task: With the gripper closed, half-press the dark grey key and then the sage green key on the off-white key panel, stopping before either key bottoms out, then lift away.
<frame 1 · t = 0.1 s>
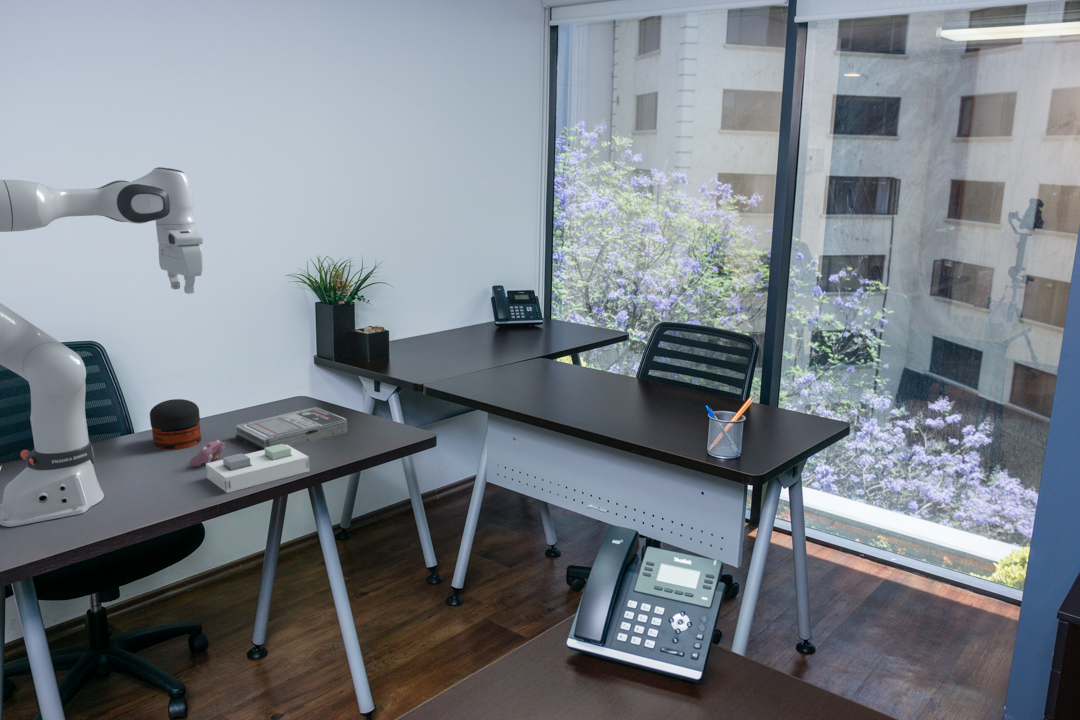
hand: (182, 291, 202), 48 cm above the table, tool pointing down, fingers open, 8 cm apart
grey key: (236, 463, 206), point 4 cm above the table, slide at 0.0 cm
oil filter: (177, 443, 235), on the table
video game controller: (209, 462, 220), on the table
sage key: (277, 453, 213), point 5 cm above the table, slide at 0.0 cm
hard drive: (293, 437, 242), on the table
key panel: (259, 474, 210), on the table
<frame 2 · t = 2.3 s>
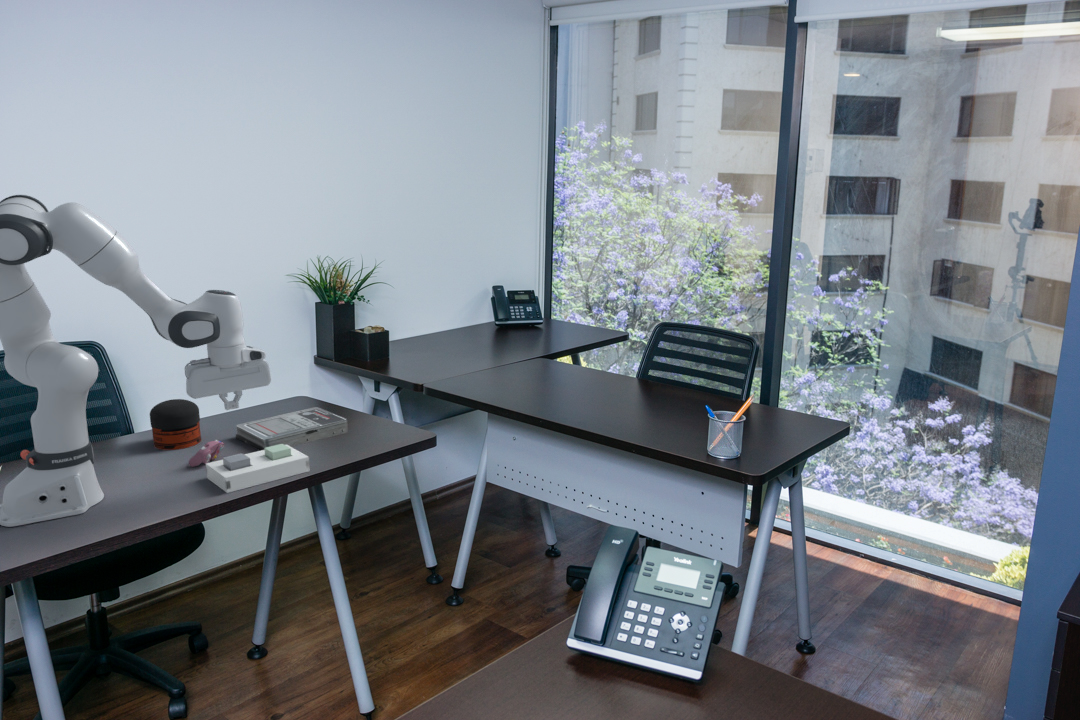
hand: (231, 408, 202), 19 cm above the table, tool pointing down, fingers closed
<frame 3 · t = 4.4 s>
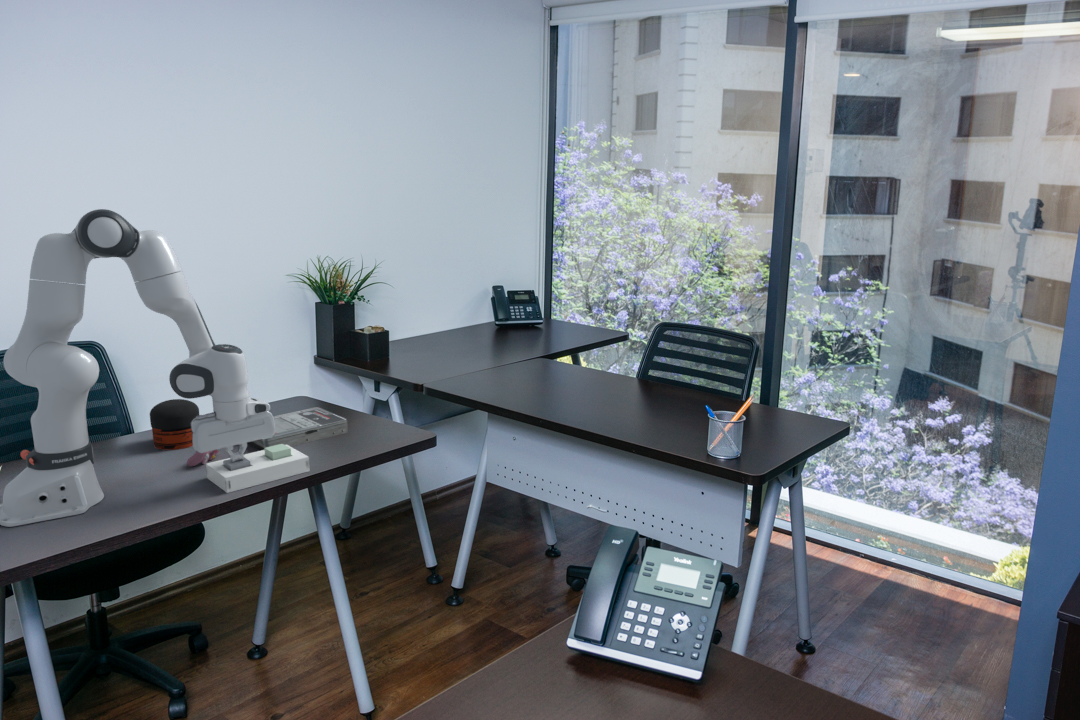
hand: (237, 460, 206), 5 cm above the table, tool pointing down, fingers closed, pressing on grey key
grey key: (237, 466, 206), point 4 cm above the table, slide at 0.8 cm, touching gripper
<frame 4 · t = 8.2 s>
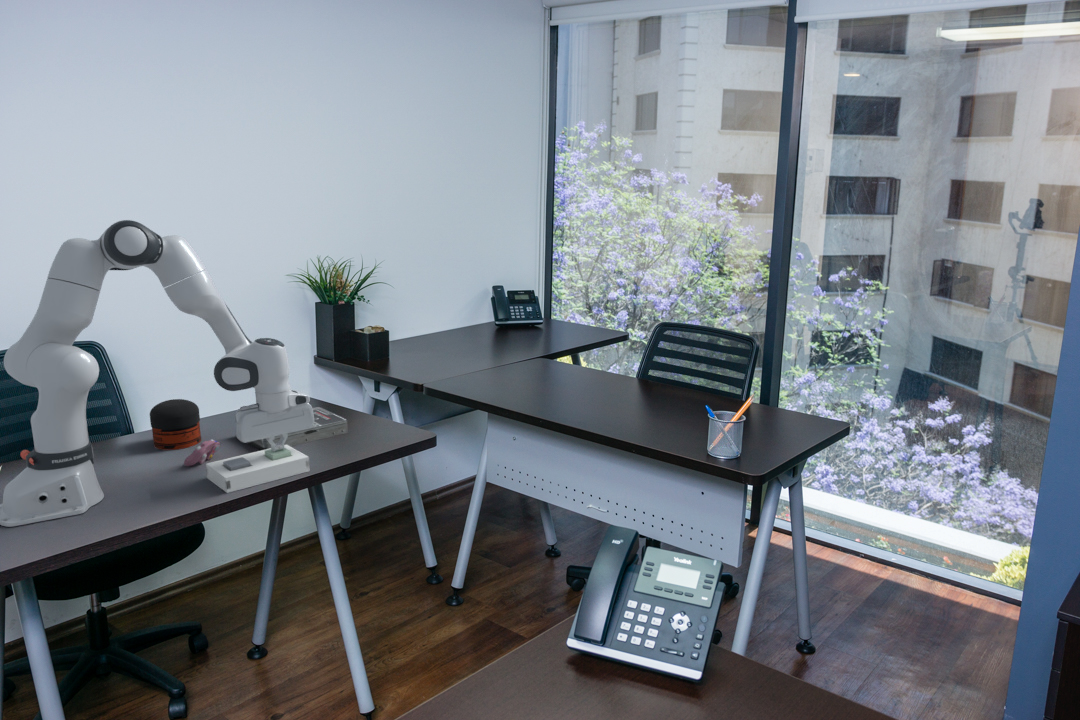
hand: (277, 450, 213), 5 cm above the table, tool pointing down, fingers closed, pressing on sage key
grey key: (237, 467, 206), point 3 cm above the table, slide at 1.1 cm
sage key: (278, 456, 213), point 4 cm above the table, slide at 0.8 cm, touching gripper
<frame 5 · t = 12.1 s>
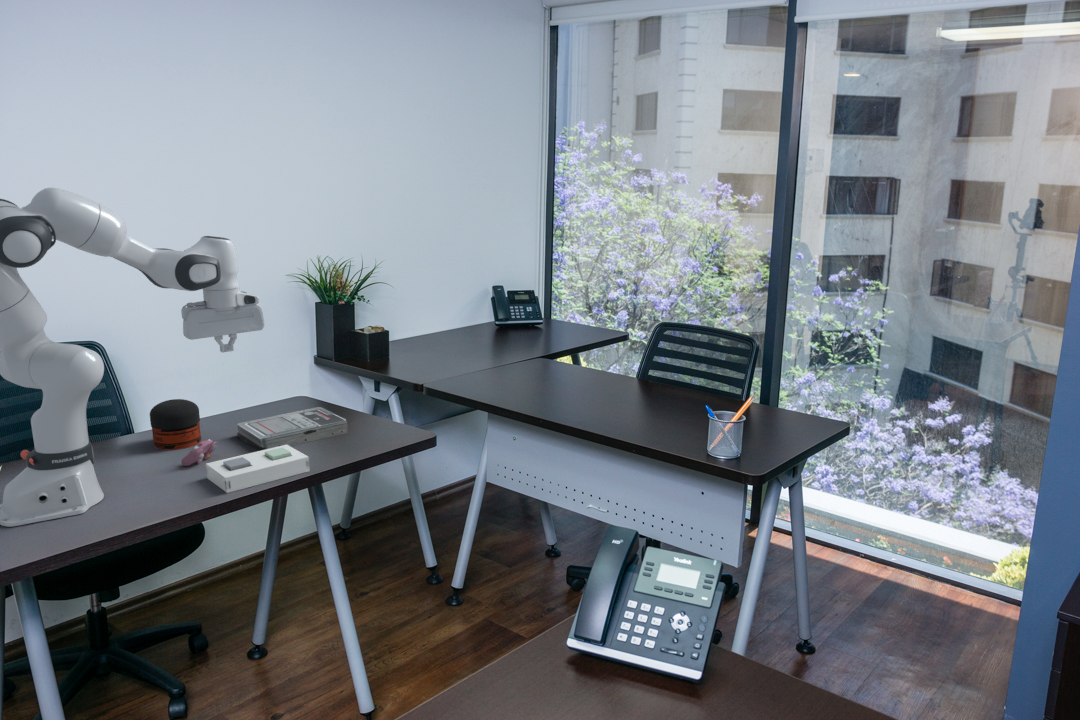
hand: (226, 351, 211), 31 cm above the table, tool pointing down, fingers closed
sage key: (278, 457, 213), point 3 cm above the table, slide at 1.1 cm
at the end: grey key slide at 1.1 cm; sage key slide at 1.1 cm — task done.
